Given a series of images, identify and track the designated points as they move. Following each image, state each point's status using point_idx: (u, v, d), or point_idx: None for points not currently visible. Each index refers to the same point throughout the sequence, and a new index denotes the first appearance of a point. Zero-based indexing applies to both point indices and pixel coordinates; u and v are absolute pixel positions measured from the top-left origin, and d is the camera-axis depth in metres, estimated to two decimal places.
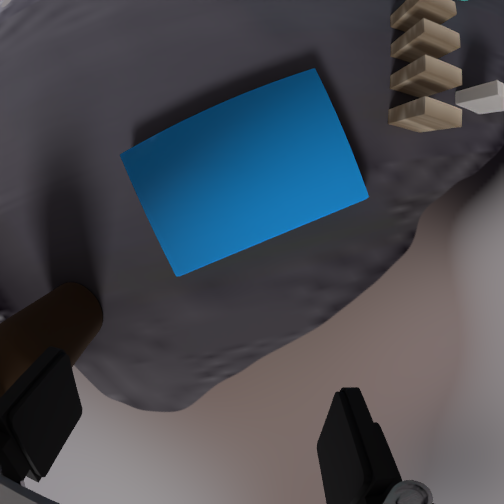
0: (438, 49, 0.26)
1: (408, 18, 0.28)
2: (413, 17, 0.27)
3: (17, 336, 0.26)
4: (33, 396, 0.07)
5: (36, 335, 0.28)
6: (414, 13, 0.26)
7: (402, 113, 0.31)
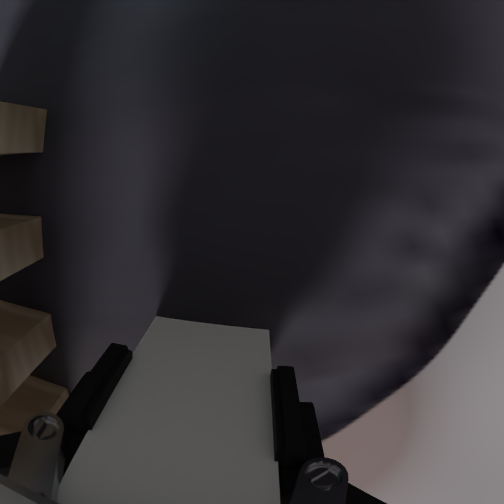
0: None
1: None
2: None
3: None
4: (105, 393, 0.08)
5: None
6: None
7: None
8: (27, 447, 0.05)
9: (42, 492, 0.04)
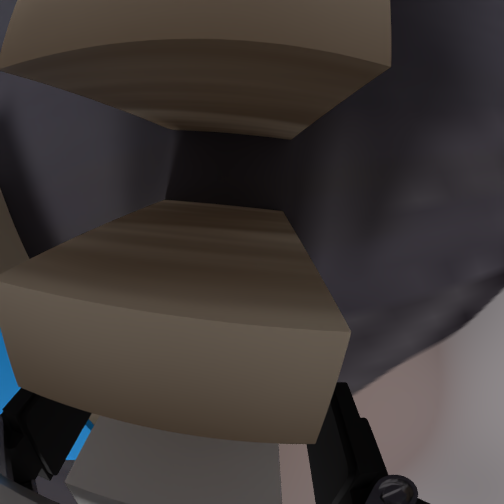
0: None
1: None
2: None
3: None
4: None
5: None
6: None
7: None
8: None
9: None
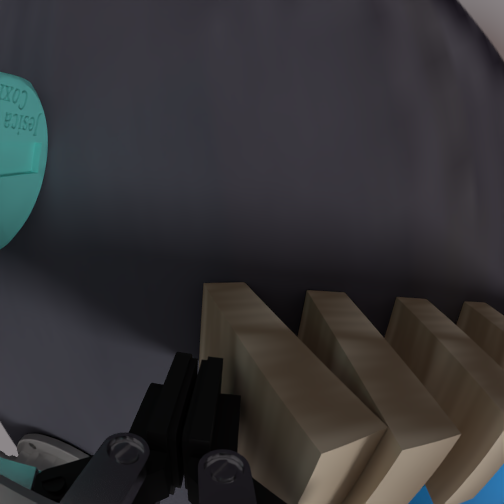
0: None
1: None
2: None
3: None
4: (184, 405, 0.08)
5: None
6: None
7: None
8: (112, 475, 0.05)
9: None
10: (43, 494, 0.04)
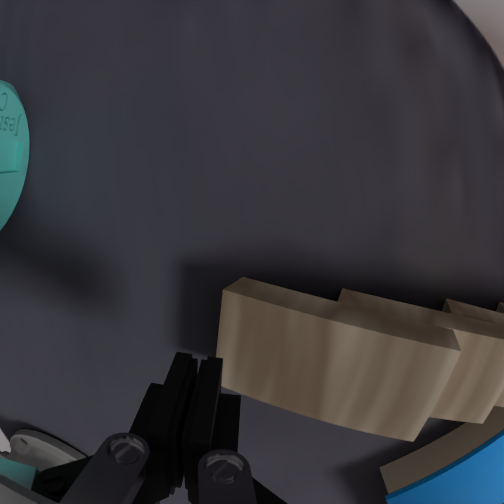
0: None
1: None
2: None
3: None
4: (184, 405, 0.08)
5: None
6: None
7: None
8: (112, 475, 0.05)
9: None
10: (43, 494, 0.04)
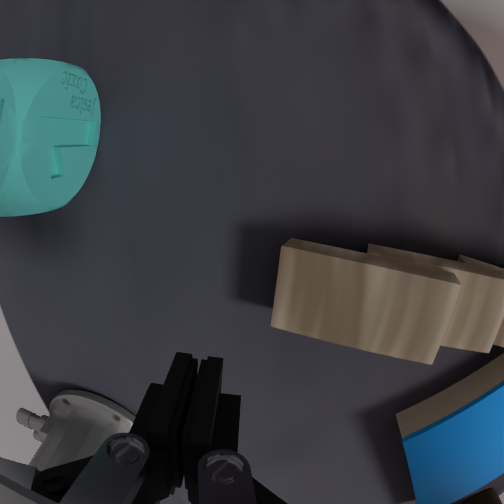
0: None
1: None
2: None
3: None
4: (184, 405, 0.08)
5: None
6: None
7: None
8: (112, 475, 0.05)
9: None
10: (43, 494, 0.04)
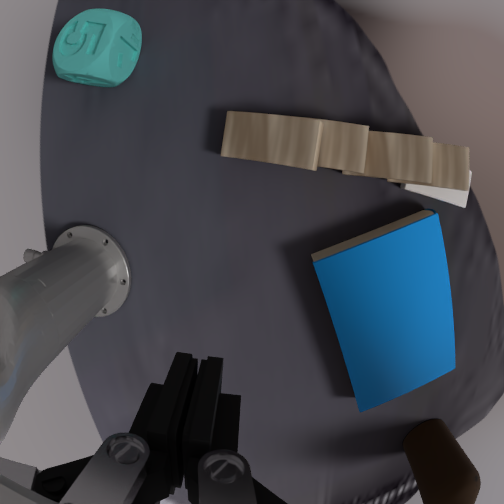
0: None
1: None
2: None
3: (439, 496, 0.30)
4: (184, 405, 0.08)
5: (443, 483, 0.31)
6: None
7: None
8: (112, 474, 0.05)
9: None
10: (43, 494, 0.04)
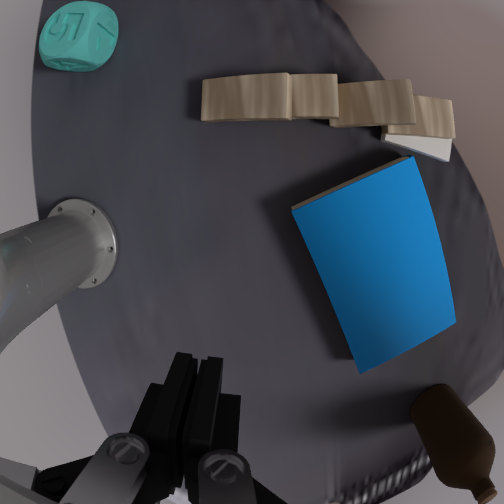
0: None
1: None
2: None
3: (452, 464, 0.30)
4: (184, 405, 0.08)
5: (454, 449, 0.31)
6: None
7: (415, 135, 0.33)
8: (112, 475, 0.05)
9: None
10: (43, 494, 0.04)
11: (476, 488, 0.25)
